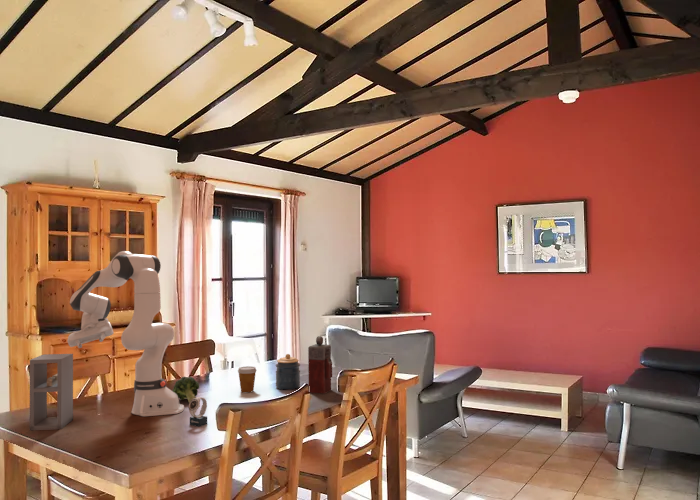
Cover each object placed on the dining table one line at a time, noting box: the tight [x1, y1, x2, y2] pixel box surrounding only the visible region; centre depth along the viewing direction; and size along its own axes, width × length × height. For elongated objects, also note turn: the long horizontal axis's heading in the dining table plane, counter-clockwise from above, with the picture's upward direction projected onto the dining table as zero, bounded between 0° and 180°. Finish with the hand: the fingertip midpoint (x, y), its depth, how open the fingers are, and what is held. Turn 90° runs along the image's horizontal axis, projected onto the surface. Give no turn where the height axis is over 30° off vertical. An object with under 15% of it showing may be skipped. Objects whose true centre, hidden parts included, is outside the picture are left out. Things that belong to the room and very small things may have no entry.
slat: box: [47, 373, 57, 386], centre depth 247 cm, size 2×22×3 cm, turn 7°
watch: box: [188, 396, 208, 428], centre depth 238 cm, size 6×8×11 cm
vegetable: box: [172, 376, 200, 404], centre depth 279 cm, size 12×13×15 cm
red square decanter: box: [307, 335, 333, 395], centre depth 297 cm, size 9×11×28 cm
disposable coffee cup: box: [237, 365, 257, 393], centre depth 298 cm, size 10×10×12 cm
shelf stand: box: [29, 353, 74, 431], centre depth 242 cm, size 12×18×28 cm, turn 7°
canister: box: [275, 353, 301, 390], centre depth 307 cm, size 13×13×18 cm
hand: (90, 343), depth 270 cm, fingers open, 8 cm apart
